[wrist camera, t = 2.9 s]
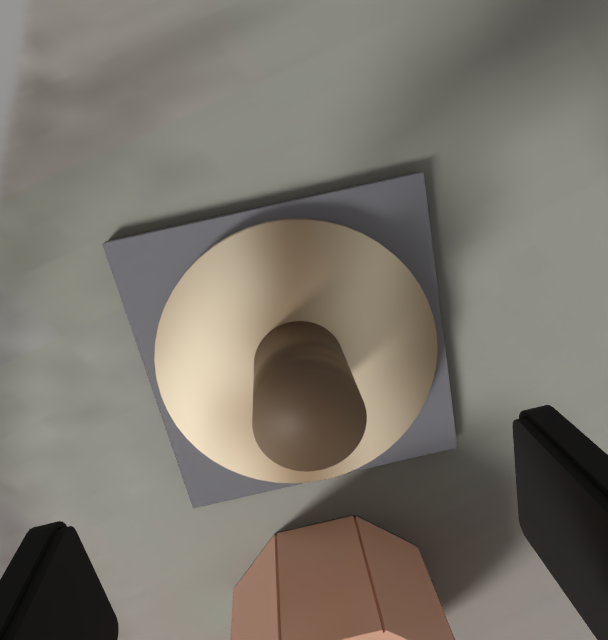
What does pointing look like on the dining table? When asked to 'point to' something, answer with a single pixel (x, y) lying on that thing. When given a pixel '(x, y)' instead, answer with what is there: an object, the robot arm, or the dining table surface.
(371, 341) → the lid
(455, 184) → the dining table surface
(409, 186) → the mat
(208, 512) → the dining table surface
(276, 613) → the bowl
